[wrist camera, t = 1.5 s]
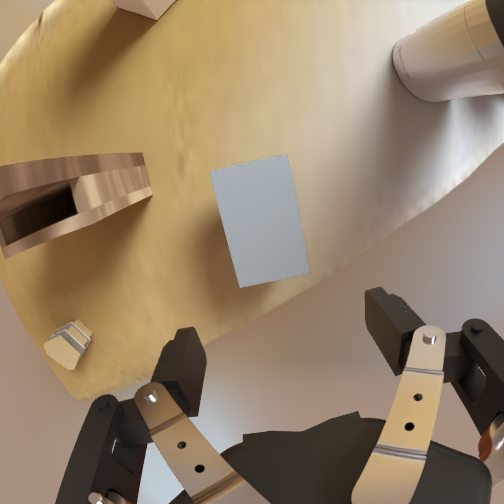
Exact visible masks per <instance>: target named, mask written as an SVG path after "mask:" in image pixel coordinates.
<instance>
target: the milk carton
mask: <svg viewBox="0 0 504 504" xmlns="http://www.w3.org/2000/svg"><path fill="white" fill-rule="evenodd" d="M111 1H112V2H113V3H114V4H115V5H116V6H117V7H119V8H121V9H125V10H128V11H131V12H134V13H137V14H140V15H143V16H146V17H149V18H152V19H154V20H158V19H159V18H160V17H161V15H162V14H163V13H164V12H165V11H166V10H167V9H168V8H169V7H170V6H171V5H172V4H173V3H174V2H175V1H176V0H111Z"/></svg>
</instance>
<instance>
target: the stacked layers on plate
mask: <svg viewBox="0 0 504 504" xmlns="http://www.w3.org/2000/svg"><path fill="white" fill-rule="evenodd" d="M92 334H93V333H92V332H91V331H90V330H89V329H88V328H87V327H86V326H85V325H84V324H82V323H81V322H80V321H79V320H78V319H76V321H75V322H74V323H73V322H70V323H68V324H66V325H64V326H62V327H60V328H59V329H57V330H56V331H55V333H54V335H53V336H51V337H50V338H49V340H48V341H47V342H46V343H45V344H44V348H45V350H46V352H47V354H48V355H49V356H50V357H51V358H52V359H54V360H55V361H56V362H58V363H59V364H61V365H62V366H64V367H65V368H67V369H69V370H74V369H75V366H76V365H77V364H78V363H79V360H80V358H81V357H82V356H83V355H84V353H85V351H86V349H87V347H88V345H89V343H90V341H91V339H90V336H91V335H92Z"/></svg>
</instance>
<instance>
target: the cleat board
mask: <svg viewBox="0 0 504 504" xmlns="http://www.w3.org/2000/svg"><path fill="white" fill-rule="evenodd" d="M72 194H73V197H74V201H75V205H76V208H77V211H78V212H76V208H75V205H74V202H73V198H72ZM151 195H153V193H152V189H151V186H150V182H149V178H148V174H147V170H146V166H145V162H144V158H143V154H142V153H116V154H97V155H83V156H71V157H61V158H52V159H44V160H36V161H29V162H23V163H16V164H10V165H5V166H1V167H0V245H1V248H2V251H3V254H4V257H5V259H6V258H8V257H10V256H13V255H15V254H17V253H19V252H22V251H24V250H26V249H29V248H31V247H34V246H36V245H39V244H41V243H43V242H46V241H48V240H51V239H54V238H56V237H59V236H61V235H64V234H67V233H69V232H72V231H75V230H77V229H80V228H83V227H86V226H89V225H91V224H94V223H96V222H98V221H100V220H101V219H103V218H105V217H107V216H109V215H111V214H113V213H115V212H117V211H119V210H121V209H123V208H125V207H127V206H130V205H132V204H134V203H136V202H138V201H140V200H142V199H144V198H147V197H149V196H151Z"/></svg>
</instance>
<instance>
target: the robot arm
mask: <svg viewBox="0 0 504 504" xmlns="http://www.w3.org/2000/svg"><path fill="white" fill-rule="evenodd" d="M393 63H394V67H395V70H396V72H397V75H398V76H399V78H400V80H401V82H402V83H403V84H404V86H405V87H406V88H407V89H408V90H409V91H410V92H411V93H412V94H413V95H415V96H416V97H417V98H419V99H421V100H423V101H426V102H440V101H445V100H452V99H459V98H466V97H474V96H482V95H492V94H503V93H504V0H471V1H469V2H467V3H465V4H463V5H461V6H459V7H457V8H455V9H453V10H451V11H449V12H447V13H445V14H444V15H442V16H440V17H438V18H436V19H434V20H433V21H431V22H429V23H427V24H426V25H424V26H422V27H420V28H419V29H417V30H415V31H414V32H412V33H410V34H409V35H407V36H405V37H404V38H402V39H401V40H399V41H398V42H397V43H396V45H395V46H394V49H393ZM365 321H366V326H367V329H368V331H369V332H370V334H371V336H372V337H373V339H374V341H375V342H376V344H377V346H378V347H379V349H380V351H381V352H382V354H383V356H384V357H385V359H386V361H387V362H388V364H389V366H390V367H391V369H392V371H393V373H394V374H395V376H397V375H400V374H402V377H401V380H400V383H399V387H398V390H397V393H396V396H395V399H394V402H393V405H392V407H391V410H390V413H389V416H388V418H387V421H386V420H382V419H376V418H361V417H360V415H359V412H358V411H357V412H353V413H350V414H346V415H343V416H339V417H336V418H332V419H329V420H327V421H325V422H323V423H321V424H318V425H316V426H314V427H312V428H310V429H307V430H305V431H301V432H291V431H290V432H289V431H267V432H260V433H251V434H243V442H242V443H239V444H236V445H234V446H232V447H230V448H229V449H227V450H225V451H224V452H222V453H221V454H220V455H219V453H218V452H217V451H216V450H215V449H214V448H213V447H212V446H211V445H210V443H209V442H208V441H207V440H206V439H205V438H204V437H203V435H202V434H201V433H200V432H199V430H198V429H197V428H196V427H195V425H194V424H193V423H192V422H191V421H190V419H189V417H196V416H198V412H199V406H200V400H201V394H202V388H203V381H204V376H205V370H206V362H207V361H206V355H205V351H204V349H203V346H202V344H201V342H200V339H199V337H198V334H197V332H196V330H195V328H194V327H189V328H182V329H178V330H177V332H176V335H175V338H174V340H170V341H169V342H168V343H167V344H166V345H165V346H164V347H163V349H162V352H161V355H160V357H159V360H158V363H157V365H156V368H155V371H154V373H153V376H152V379H151V382H150V383H148V384H146V385H144V386H142V387H141V388H139V389H138V390H137V392H136V394H135V396H134V398H132V399H128V400H124V401H121V402H119V401H118V400H117V399H116V397H115V396H113V395H110V394H107V395H102V396H100V397H98V398H97V399H96V400H95V401H94V402H93V403H92V405H91V407H90V409H89V412H88V414H87V416H86V418H85V421H84V423H83V426H82V428H81V431H80V433H79V436H78V438H77V441H76V443H75V446H74V449H73V451H72V454H71V457H70V459H69V462H68V465H67V468H66V471H65V474H64V477H63V480H62V483H61V486H60V489H59V492H58V496H57V499H56V503H55V504H137V498H138V493H139V487H140V481H141V475H142V470H143V464H144V459H145V453H146V448H147V444H148V443H151V442H154V443H155V445H156V446H157V448H158V450H159V451H160V453H161V454H162V456H163V458H164V459H165V461H166V462H167V464H168V466H169V467H170V469H171V470H172V472H173V473H174V475H175V476H176V478H177V479H178V481H179V482H180V483H181V485H182V486H183V488H184V490H183V491H182V492H181V493H180V494H179V495H178V496H177V497H176V498H175V499H173V500H172V501H171V502H170V503H169V504H490V498H491V492H492V488H494V487H495V486H497V485H498V484H500V483H501V482H502V481H504V340H503V339H502V338H501V337H500V336H499V335H498V334H497V333H496V332H495V331H494V329H493V328H492V327H491V326H490V325H489V324H488V323H486V322H485V321H483V320H480V319H470V320H467V321H466V322H465V323H464V324H463V326H462V330H461V331H459V332H453V333H445V332H444V331H443V330H442V329H441V328H439V327H436V326H433V325H426V324H425V323H424V322H423V321H422V320H421V318H420V317H419V316H418V315H417V314H416V313H415V312H414V311H413V310H412V309H411V308H410V307H409V306H408V305H407V303H406V302H405V301H404V300H403V299H402V298H401V297H398V296H396V295H394V294H390V295H388V294H387V293H386V292H385V290H384V289H383V288H382V287H377V288H373V289H370V290H366V291H365ZM478 367H480V369H481V370H482V371H483V373H484V374H485V376H486V377H485V376H484V374H483V373H482V372H481V370H480V369H479V368H478ZM447 382H451V384H452V386H453V387H454V389H455V391H456V392H457V394H458V396H459V397H460V399H461V401H462V402H463V404H464V406H465V408H466V409H467V411H468V413H469V414H470V416H471V418H472V420H473V422H474V424H475V426H476V428H477V429H478V431H479V433H480V435H481V439H480V440H479V444H478V451H479V458H480V459H478V458H476V457H473V456H471V455H468V454H465V453H462V452H460V451H457V450H454V449H451V448H449V447H446V446H444V445H441V444H439V443H437V442H434V441H431V436H432V432H433V428H434V424H435V420H436V416H437V411H438V406H439V401H440V396H441V390H442V384H443V383H447ZM115 440H116V443H115V446H114V450H113V453H112V448H113V444H114V441H115Z"/></svg>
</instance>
